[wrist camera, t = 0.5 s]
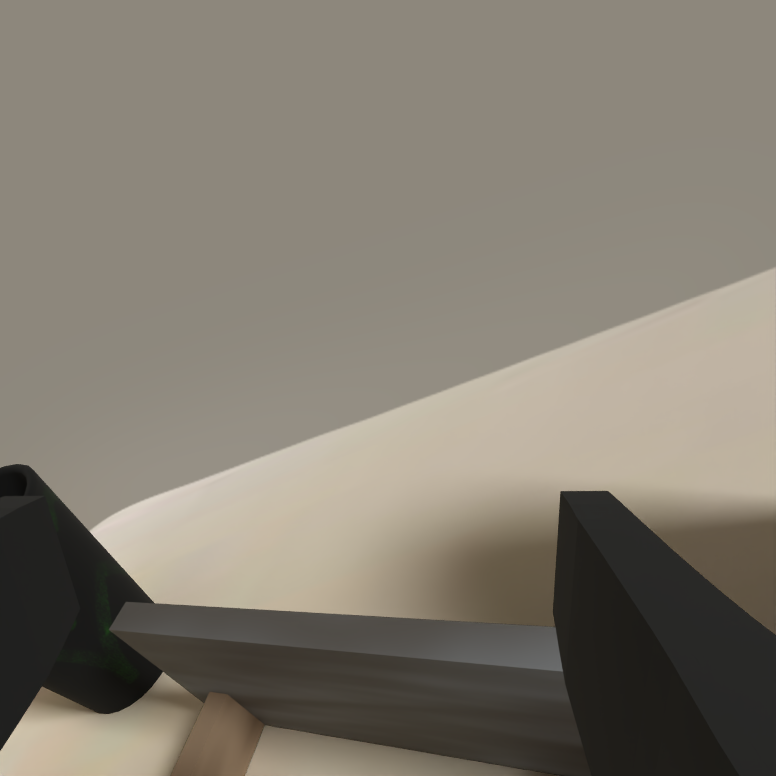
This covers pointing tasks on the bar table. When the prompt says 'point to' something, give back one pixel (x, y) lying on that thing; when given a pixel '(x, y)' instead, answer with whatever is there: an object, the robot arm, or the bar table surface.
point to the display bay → (361, 684)
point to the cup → (89, 611)
